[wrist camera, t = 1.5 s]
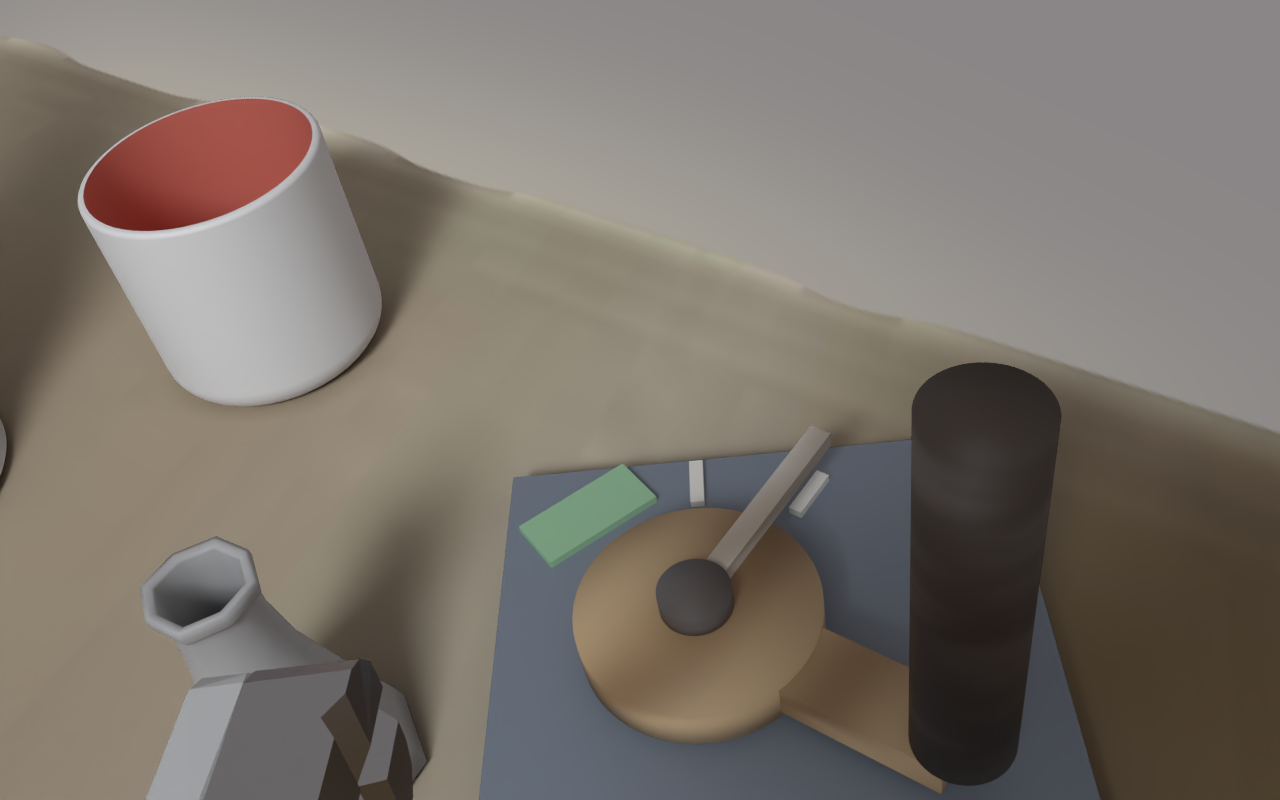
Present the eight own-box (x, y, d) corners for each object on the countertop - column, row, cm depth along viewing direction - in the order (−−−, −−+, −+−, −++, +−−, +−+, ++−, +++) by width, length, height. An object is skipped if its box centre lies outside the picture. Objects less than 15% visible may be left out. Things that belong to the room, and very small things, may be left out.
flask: (349, 638, 44) (249, 447, 37) (467, 765, 40) (377, 574, 33) (169, 773, 41) (23, 592, 34) (275, 926, 37) (132, 754, 30)
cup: (323, 435, 52) (235, 246, 45) (133, 405, 55) (24, 225, 48) (425, 285, 58) (362, 100, 51) (250, 266, 62) (168, 90, 55)
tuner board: (471, 980, 35) (458, 959, 34) (520, 498, 47) (511, 472, 46) (1130, 945, 33) (1138, 922, 32) (994, 453, 46) (996, 425, 45)
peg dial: (532, 672, 40) (411, 343, 30) (729, 435, 46) (683, 98, 36) (948, 905, 33) (970, 574, 23) (1114, 586, 39) (1188, 218, 29)
